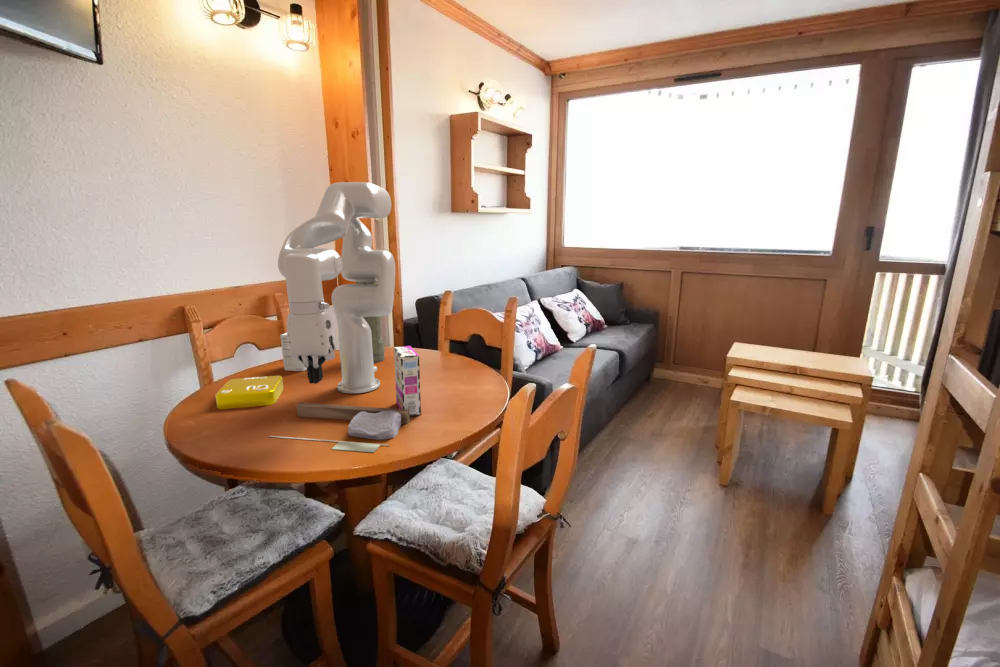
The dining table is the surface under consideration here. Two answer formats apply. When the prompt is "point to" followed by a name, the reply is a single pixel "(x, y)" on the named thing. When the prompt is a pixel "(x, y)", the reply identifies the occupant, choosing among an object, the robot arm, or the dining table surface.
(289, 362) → the supplement box
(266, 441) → the dining table surface
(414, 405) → the candy bar box
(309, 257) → the robot arm
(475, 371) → the dining table surface
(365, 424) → the stone block
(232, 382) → the element tile
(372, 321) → the thermos
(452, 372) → the dining table surface
